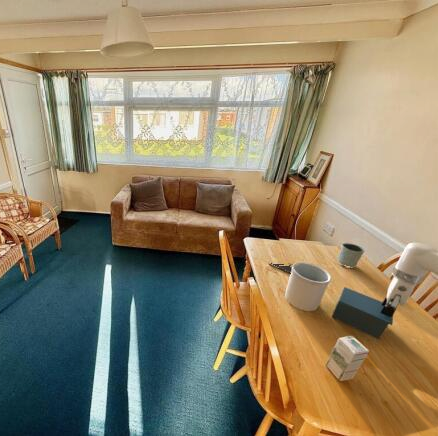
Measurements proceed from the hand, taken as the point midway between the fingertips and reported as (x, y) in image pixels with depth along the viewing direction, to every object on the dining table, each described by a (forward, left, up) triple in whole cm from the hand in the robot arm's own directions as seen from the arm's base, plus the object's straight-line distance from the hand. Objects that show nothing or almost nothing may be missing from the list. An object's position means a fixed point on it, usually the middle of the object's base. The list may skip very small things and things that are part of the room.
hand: (386, 310), depth 92 cm
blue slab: (+6, -1, -1) cm, 6 cm away
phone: (+37, -26, -10) cm, 47 cm away
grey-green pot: (+6, -51, -10) cm, 53 cm away
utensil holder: (+27, 0, -10) cm, 29 cm away
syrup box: (+14, +32, -10) cm, 36 cm away
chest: (+6, -1, -10) cm, 12 cm away
